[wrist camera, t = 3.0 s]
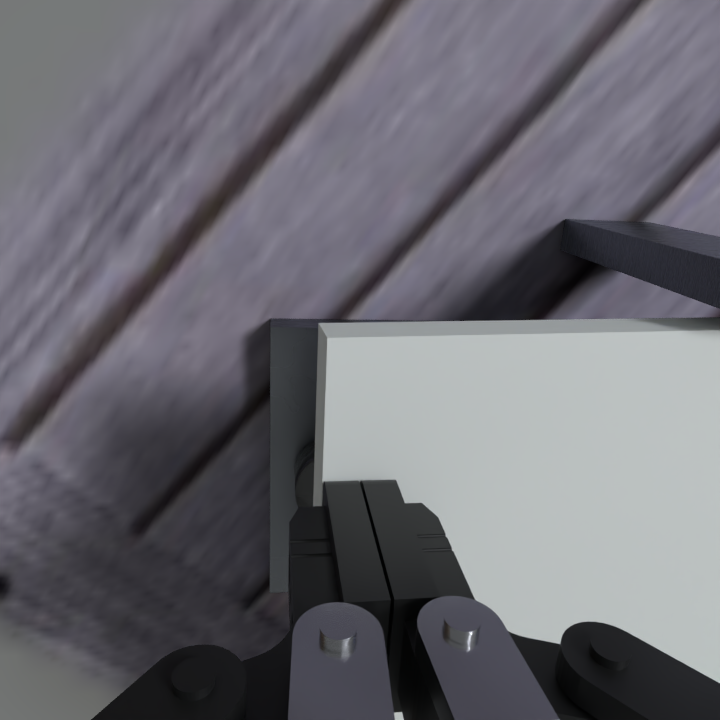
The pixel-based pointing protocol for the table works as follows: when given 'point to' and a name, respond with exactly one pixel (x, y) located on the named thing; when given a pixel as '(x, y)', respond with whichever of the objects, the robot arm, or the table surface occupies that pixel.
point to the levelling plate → (546, 462)
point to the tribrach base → (300, 336)
